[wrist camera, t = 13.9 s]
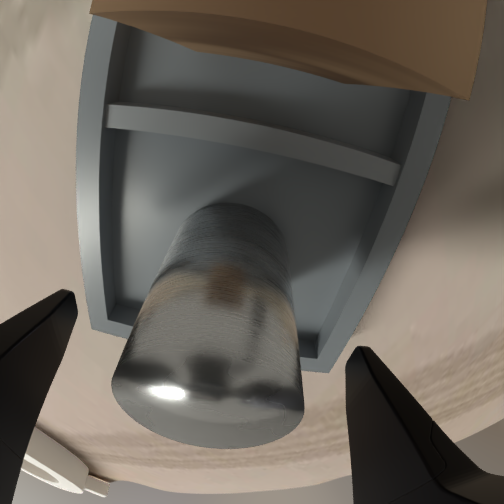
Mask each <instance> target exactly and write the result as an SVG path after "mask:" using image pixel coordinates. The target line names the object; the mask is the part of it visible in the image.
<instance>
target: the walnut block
mask: <svg viewBox="0 0 504 504" xmlns="http://www.w3.org/2000/svg"><path fill="white" fill-rule="evenodd" d="M486 6H487V0H93V1H92V5H91V9H90V13H89V14H93V15H97V16H100V17H104V18H107V19H110V20H114V21H117V22H120V23H123V24H126V25H129V26H132V27H135V28H138V29H141V30H143V31H146V32H149V33H152V34H154V35H157V36H160V37H162V38H165V39H167V40H170V41H172V42H175V43H177V44H180V45H182V46H184V47H187V48H189V49H191V50H194V51H196V52H203V53H211V54H218V55H225V56H231V57H237V58H243V59H249V60H254V61H259V62H264V63H269V64H273V65H278V66H282V67H286V68H291V69H295V70H298V71H302V72H306V73H310V74H313V75H317V76H320V77H324V78H327V79H331V80H334V81H337V82H340V83H343V84H356V85H370V86H381V87H391V88H399V89H407V90H414V91H421V92H427V93H433V94H439V95H444V96H450V97H455V98H459V99H464V100H469V99H470V95H471V91H472V87H473V83H474V79H475V74H476V70H477V65H478V60H479V55H480V49H481V43H482V37H483V31H484V23H485V15H486Z"/></svg>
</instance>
